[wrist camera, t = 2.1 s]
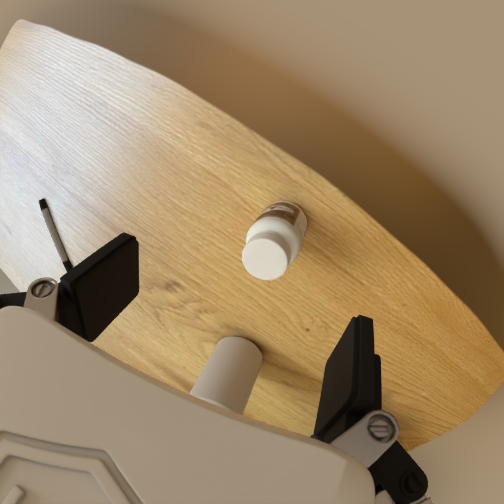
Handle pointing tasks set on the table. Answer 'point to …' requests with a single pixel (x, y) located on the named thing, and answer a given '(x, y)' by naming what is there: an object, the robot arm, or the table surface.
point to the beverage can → (229, 374)
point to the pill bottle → (274, 240)
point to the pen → (54, 234)
